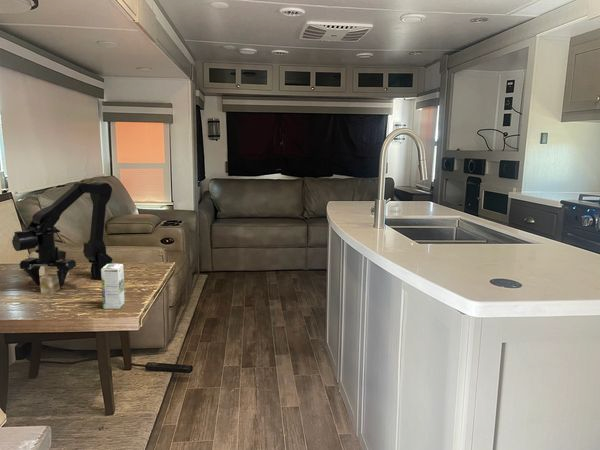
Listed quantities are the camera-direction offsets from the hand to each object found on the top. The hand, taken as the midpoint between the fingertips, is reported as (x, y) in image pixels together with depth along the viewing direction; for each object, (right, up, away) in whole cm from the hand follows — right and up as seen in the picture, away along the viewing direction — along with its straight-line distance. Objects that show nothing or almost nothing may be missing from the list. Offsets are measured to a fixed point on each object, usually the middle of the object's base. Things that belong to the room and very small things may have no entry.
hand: (50, 286), depth 168 cm
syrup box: (+30, -5, -13) cm, 33 cm away
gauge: (0, -1, +4) cm, 5 cm away
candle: (-16, +2, +20) cm, 26 cm away
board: (-1, -1, +8) cm, 8 cm away
